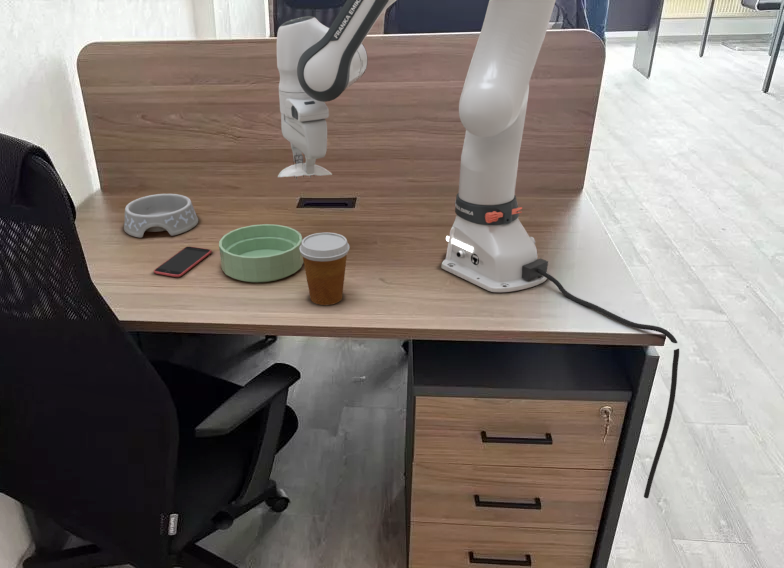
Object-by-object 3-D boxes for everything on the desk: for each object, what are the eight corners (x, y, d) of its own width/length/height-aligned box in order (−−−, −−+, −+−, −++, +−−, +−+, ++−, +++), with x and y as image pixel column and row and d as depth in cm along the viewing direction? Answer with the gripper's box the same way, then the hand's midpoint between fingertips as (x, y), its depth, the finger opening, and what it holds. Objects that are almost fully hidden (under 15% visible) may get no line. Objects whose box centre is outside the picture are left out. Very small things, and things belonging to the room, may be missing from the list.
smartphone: (151, 271, 156) (186, 245, 166) (152, 273, 156) (187, 248, 166) (179, 275, 153) (213, 249, 164) (179, 278, 153) (213, 251, 164)
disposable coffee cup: (299, 308, 139) (295, 251, 133) (305, 286, 147) (302, 231, 141) (348, 309, 138) (347, 252, 132) (352, 287, 146) (351, 231, 140)
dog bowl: (130, 214, 187) (126, 194, 184) (201, 209, 187) (198, 189, 184) (118, 240, 173) (114, 219, 170) (195, 235, 173) (192, 214, 170)
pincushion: (332, 172, 161) (331, 147, 158) (331, 181, 156) (331, 155, 153) (279, 174, 162) (277, 148, 159) (276, 183, 157) (274, 157, 154)
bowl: (316, 272, 152) (315, 246, 149) (237, 291, 147) (234, 264, 144) (285, 243, 166) (283, 218, 163) (212, 259, 161) (208, 234, 158)
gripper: (272, 94, 158) (276, 157, 165) (301, 115, 141) (305, 184, 149) (299, 90, 159) (302, 153, 167) (332, 111, 143) (333, 179, 150)
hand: (304, 168), depth 158 cm, fingers closed on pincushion, 6 cm apart
